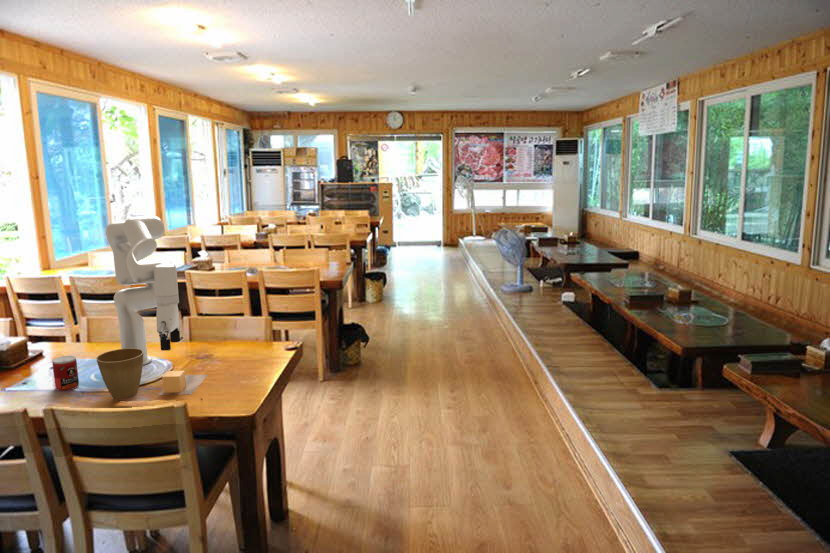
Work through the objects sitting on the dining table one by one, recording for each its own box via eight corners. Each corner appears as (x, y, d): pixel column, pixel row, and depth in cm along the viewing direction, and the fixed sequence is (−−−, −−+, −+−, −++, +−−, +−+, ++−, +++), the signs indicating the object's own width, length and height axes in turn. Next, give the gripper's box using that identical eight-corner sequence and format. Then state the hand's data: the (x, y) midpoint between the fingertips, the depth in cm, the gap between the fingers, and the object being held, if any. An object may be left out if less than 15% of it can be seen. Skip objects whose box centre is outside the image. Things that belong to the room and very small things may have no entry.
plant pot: (123, 387, 220) (118, 346, 217) (156, 392, 216) (152, 350, 213) (90, 403, 206) (85, 359, 203) (125, 407, 202) (121, 363, 199)
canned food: (62, 392, 215) (59, 363, 213) (51, 388, 220) (47, 359, 218) (83, 385, 222) (80, 357, 220) (72, 381, 226) (68, 354, 224)
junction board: (157, 399, 209) (155, 383, 208) (176, 378, 229) (175, 364, 228) (191, 398, 210) (190, 382, 209) (208, 378, 229) (207, 363, 228)
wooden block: (163, 392, 211) (162, 376, 210) (169, 386, 217) (168, 371, 216) (180, 392, 211) (179, 376, 210) (186, 386, 217) (184, 370, 216)
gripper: (165, 293, 216) (168, 338, 219) (146, 305, 199) (150, 353, 203) (186, 293, 216) (189, 338, 220) (169, 305, 199) (173, 353, 203)
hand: (170, 345), depth 211 cm, fingers open, 9 cm apart
